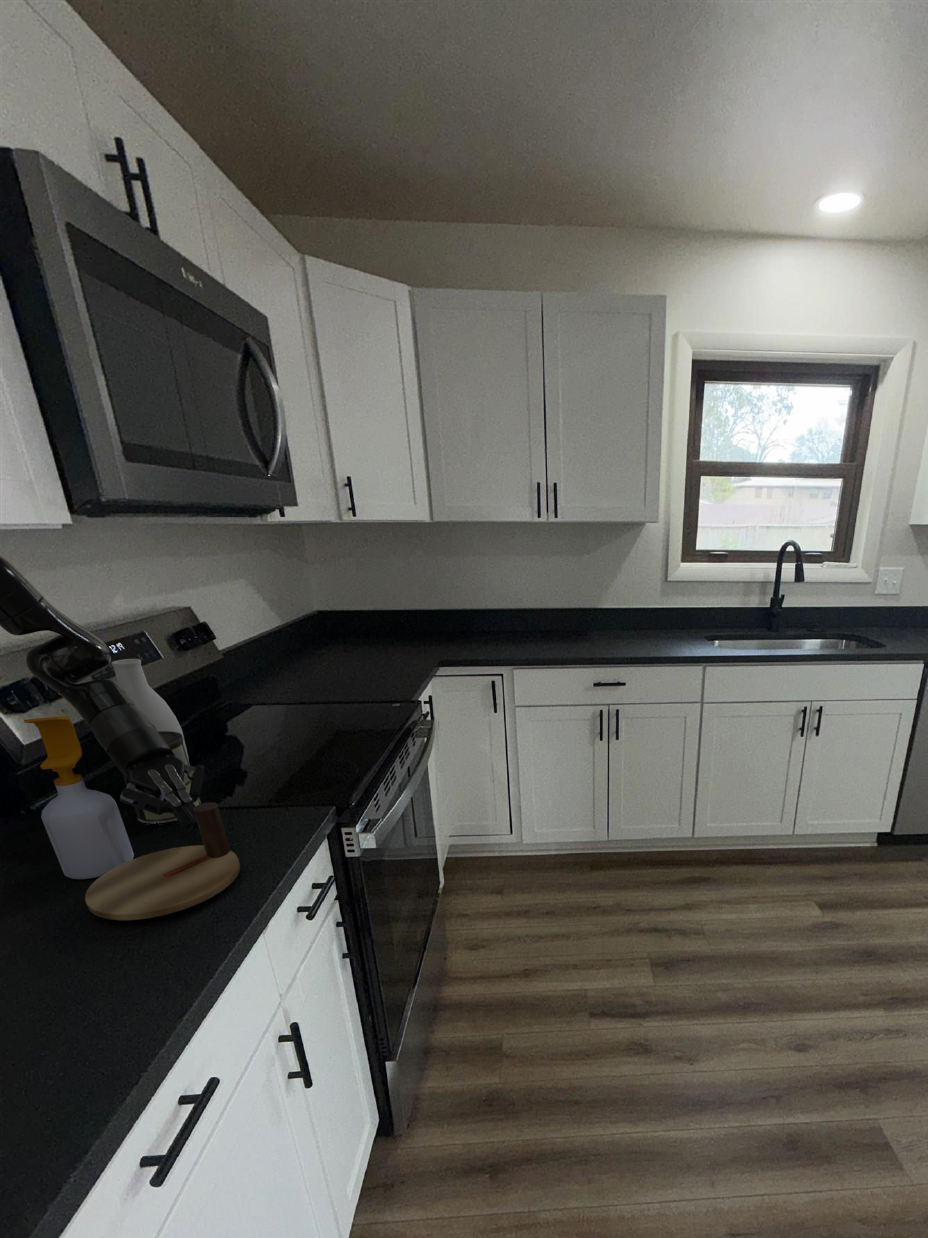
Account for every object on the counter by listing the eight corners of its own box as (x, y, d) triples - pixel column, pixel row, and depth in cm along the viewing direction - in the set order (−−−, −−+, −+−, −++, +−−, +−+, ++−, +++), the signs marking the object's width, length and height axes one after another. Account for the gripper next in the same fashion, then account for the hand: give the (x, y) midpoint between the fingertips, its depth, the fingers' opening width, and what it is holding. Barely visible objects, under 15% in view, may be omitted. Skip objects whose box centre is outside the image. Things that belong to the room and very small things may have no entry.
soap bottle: (56, 886, 95) (-9, 728, 85) (73, 858, 103) (15, 710, 92) (128, 873, 98) (73, 720, 88) (139, 847, 106) (90, 703, 96)
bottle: (156, 803, 122) (114, 670, 111) (118, 793, 126) (74, 664, 115) (209, 781, 131) (175, 657, 120) (172, 773, 135) (136, 652, 124)
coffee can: (122, 822, 114) (97, 748, 108) (169, 798, 123) (147, 729, 117) (172, 827, 112) (148, 752, 106) (215, 803, 121) (195, 732, 116)
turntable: (51, 912, 86) (26, 854, 83) (161, 846, 104) (144, 795, 100) (175, 927, 84) (155, 867, 80) (267, 856, 101) (254, 804, 97)
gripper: (169, 740, 109) (230, 821, 108) (81, 766, 98) (148, 855, 98) (178, 715, 104) (242, 799, 104) (87, 739, 94) (157, 832, 93)
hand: (196, 826), depth 101 cm, fingers closed
